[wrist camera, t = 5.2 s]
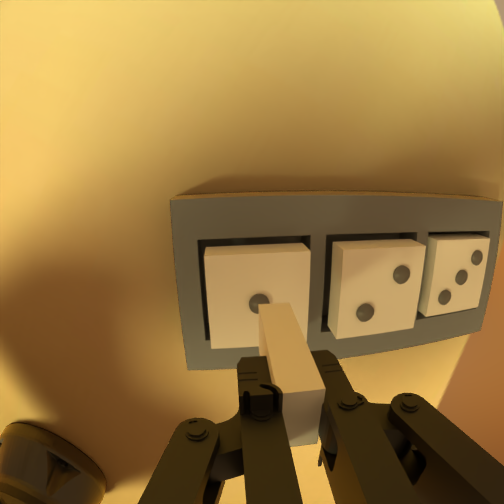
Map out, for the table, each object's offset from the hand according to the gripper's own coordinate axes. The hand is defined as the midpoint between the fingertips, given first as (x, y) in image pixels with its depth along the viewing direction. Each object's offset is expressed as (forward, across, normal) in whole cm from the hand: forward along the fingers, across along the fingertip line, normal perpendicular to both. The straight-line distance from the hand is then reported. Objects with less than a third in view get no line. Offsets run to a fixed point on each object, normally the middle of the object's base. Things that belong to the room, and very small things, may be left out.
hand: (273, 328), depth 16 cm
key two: (+6, +8, 0) cm, 9 cm away
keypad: (+9, +8, 0) cm, 11 cm away
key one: (+5, 0, 0) cm, 5 cm away
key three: (+7, +16, 0) cm, 17 cm away
